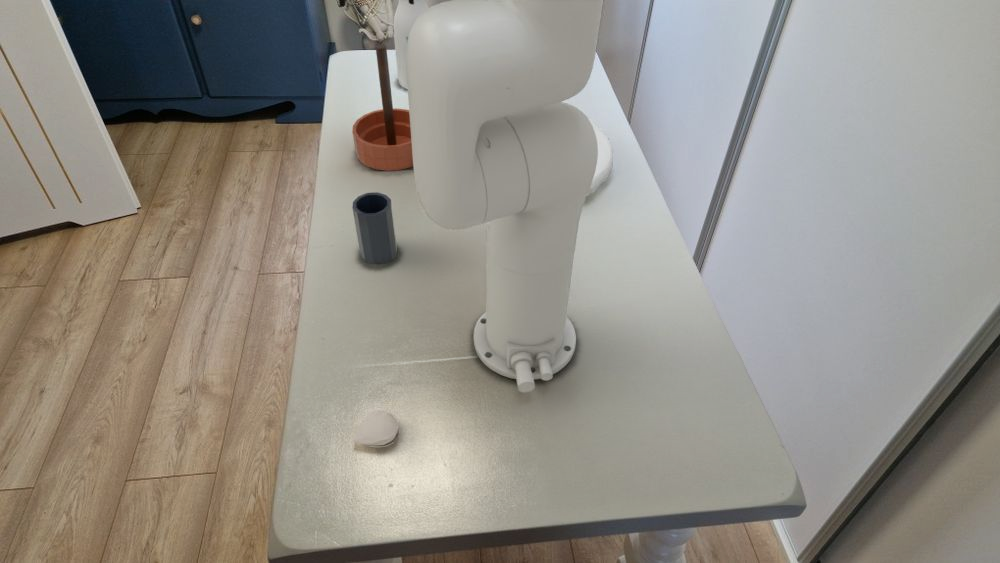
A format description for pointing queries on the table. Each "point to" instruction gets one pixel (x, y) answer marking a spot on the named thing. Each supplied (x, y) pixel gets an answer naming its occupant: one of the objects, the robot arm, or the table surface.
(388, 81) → the stick
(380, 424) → the grey pebble
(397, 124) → the bowl
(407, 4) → the milk bottle
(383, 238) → the pot
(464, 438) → the table surface
